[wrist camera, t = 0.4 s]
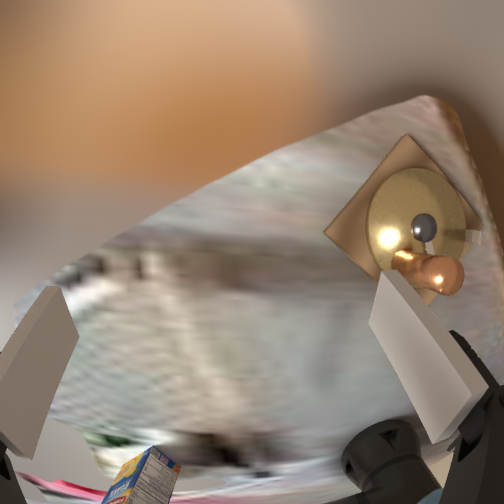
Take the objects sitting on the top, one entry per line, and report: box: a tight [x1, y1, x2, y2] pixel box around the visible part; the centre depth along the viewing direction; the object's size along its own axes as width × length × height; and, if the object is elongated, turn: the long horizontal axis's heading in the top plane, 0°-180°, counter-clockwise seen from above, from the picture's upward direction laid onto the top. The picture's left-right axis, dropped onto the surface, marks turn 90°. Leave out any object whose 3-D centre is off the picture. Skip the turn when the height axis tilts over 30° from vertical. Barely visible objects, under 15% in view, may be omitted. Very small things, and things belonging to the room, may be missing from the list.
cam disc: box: [365, 168, 466, 296], centre depth 33 cm, size 17×17×14 cm
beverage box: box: [101, 446, 181, 504], centre depth 36 cm, size 7×11×22 cm, turn 133°
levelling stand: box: [323, 134, 483, 306], centre depth 40 cm, size 20×20×5 cm
